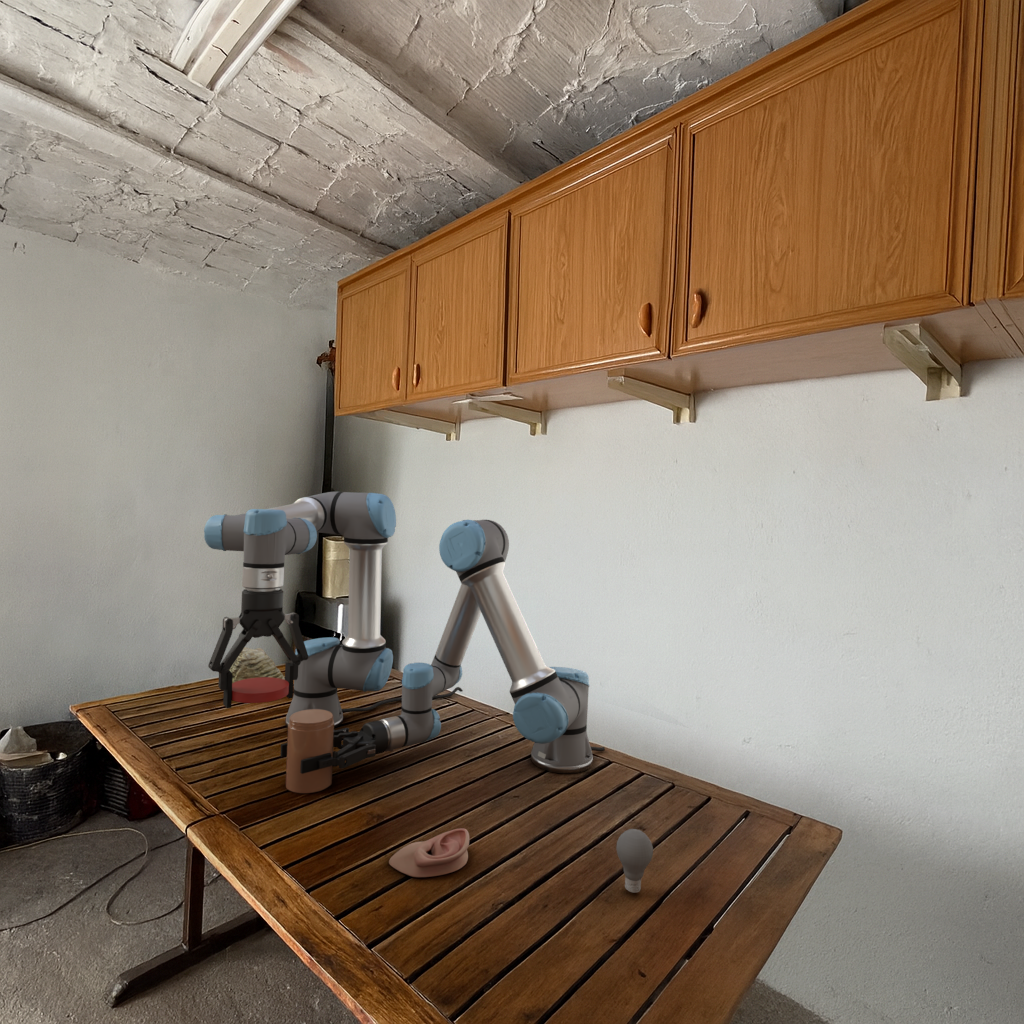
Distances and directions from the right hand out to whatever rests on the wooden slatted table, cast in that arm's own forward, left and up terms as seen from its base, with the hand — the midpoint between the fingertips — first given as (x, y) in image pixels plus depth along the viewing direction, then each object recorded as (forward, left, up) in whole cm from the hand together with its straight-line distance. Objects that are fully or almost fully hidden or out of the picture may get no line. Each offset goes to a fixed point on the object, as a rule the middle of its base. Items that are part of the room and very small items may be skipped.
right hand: (291, 758), depth 137 cm
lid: (+6, +12, +20) cm, 24 cm away
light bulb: (-56, +50, -6) cm, 75 cm away
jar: (-4, -2, -6) cm, 8 cm away
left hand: (+6, +12, +17) cm, 21 cm away
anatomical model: (-25, +34, -6) cm, 42 cm away
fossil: (+13, -68, -6) cm, 70 cm away
